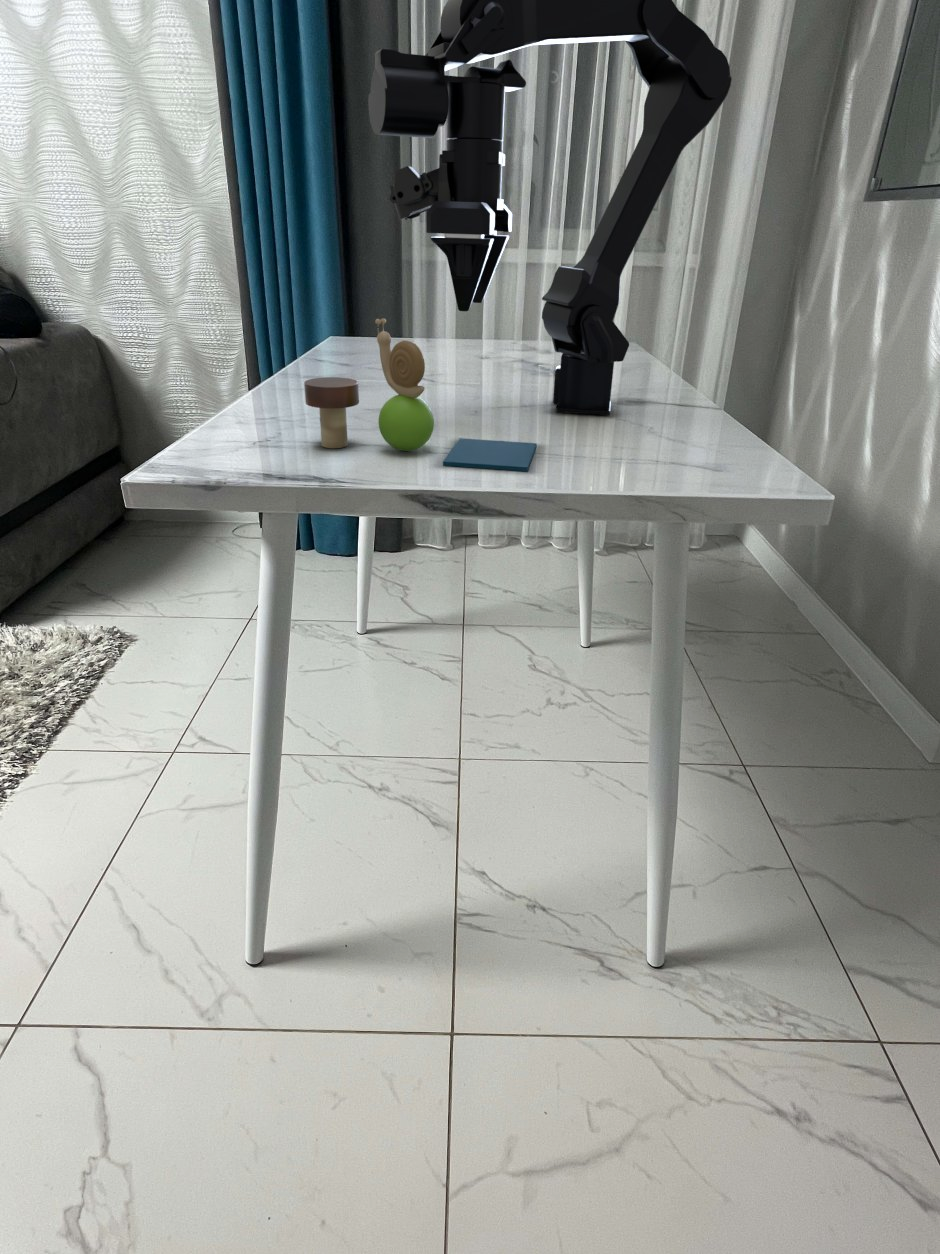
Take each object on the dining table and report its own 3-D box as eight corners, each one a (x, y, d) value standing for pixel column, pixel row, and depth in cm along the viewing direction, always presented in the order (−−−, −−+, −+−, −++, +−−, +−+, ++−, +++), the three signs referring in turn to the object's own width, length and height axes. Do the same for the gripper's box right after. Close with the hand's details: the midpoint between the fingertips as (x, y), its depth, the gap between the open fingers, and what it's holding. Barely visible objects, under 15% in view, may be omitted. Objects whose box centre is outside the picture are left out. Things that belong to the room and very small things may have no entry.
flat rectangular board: (536, 447, 83) (536, 443, 83) (527, 471, 75) (527, 467, 75) (459, 441, 84) (459, 438, 84) (442, 465, 76) (442, 461, 76)
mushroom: (366, 440, 84) (364, 378, 81) (352, 453, 79) (349, 388, 76) (318, 437, 84) (314, 375, 81) (301, 450, 80) (296, 385, 77)
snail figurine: (401, 438, 85) (399, 316, 79) (445, 450, 81) (446, 322, 75) (361, 447, 81) (356, 320, 76) (405, 460, 77) (403, 327, 72)
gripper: (417, 146, 91) (417, 296, 98) (372, 131, 74) (376, 312, 82) (515, 148, 89) (509, 300, 96) (492, 133, 73) (486, 317, 80)
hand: (470, 306), depth 89 cm, fingers open, 9 cm apart
